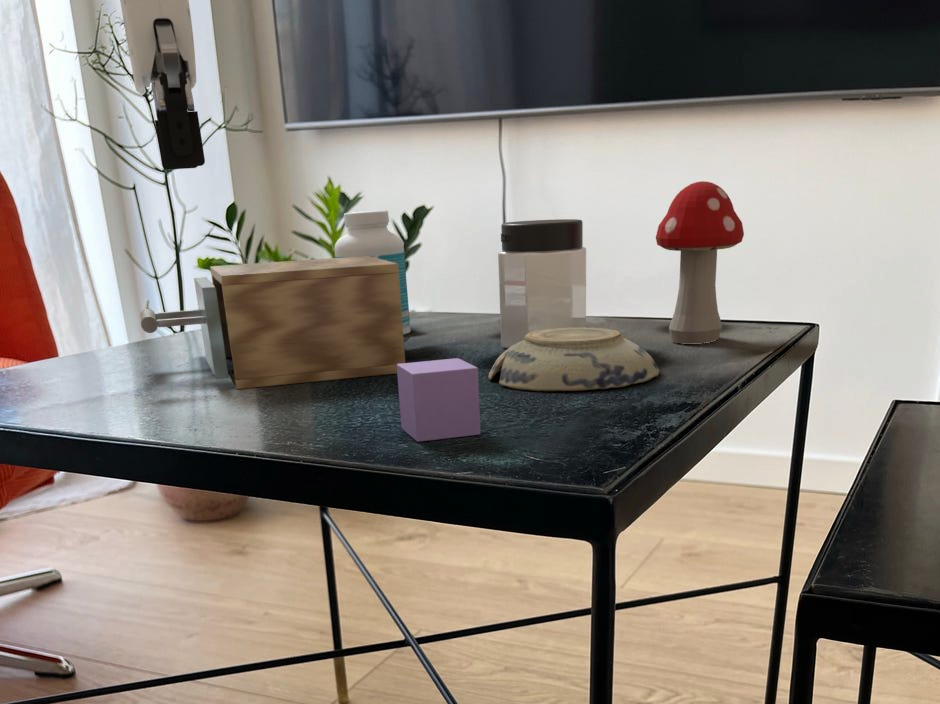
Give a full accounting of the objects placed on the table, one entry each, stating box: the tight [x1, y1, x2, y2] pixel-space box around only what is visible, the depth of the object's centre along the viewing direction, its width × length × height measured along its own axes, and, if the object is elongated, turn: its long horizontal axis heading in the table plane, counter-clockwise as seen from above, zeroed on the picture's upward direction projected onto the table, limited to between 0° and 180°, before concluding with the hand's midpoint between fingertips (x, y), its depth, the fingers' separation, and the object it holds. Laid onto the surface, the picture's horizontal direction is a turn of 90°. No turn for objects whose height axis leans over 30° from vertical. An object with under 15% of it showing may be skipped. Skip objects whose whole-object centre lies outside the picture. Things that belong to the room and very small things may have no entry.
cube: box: [396, 357, 482, 443], centre depth 71 cm, size 5×5×5 cm
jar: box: [497, 218, 587, 350], centre depth 103 cm, size 9×8×12 cm
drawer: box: [139, 276, 230, 381], centre depth 95 cm, size 20×11×8 cm, turn 108°
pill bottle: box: [334, 209, 411, 343], centre depth 110 cm, size 8×7×14 cm
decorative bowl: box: [487, 327, 660, 393], centre depth 89 cm, size 15×4×15 cm
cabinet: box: [209, 256, 406, 390], centre depth 96 cm, size 16×13×10 cm
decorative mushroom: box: [655, 180, 745, 344], centre depth 102 cm, size 10×9×15 cm
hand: (183, 167), depth 88 cm, fingers open, 9 cm apart
